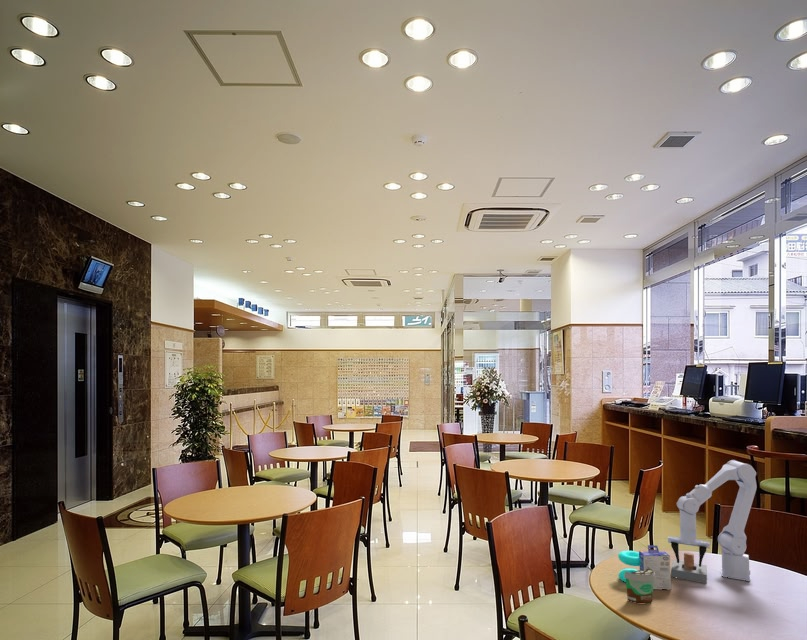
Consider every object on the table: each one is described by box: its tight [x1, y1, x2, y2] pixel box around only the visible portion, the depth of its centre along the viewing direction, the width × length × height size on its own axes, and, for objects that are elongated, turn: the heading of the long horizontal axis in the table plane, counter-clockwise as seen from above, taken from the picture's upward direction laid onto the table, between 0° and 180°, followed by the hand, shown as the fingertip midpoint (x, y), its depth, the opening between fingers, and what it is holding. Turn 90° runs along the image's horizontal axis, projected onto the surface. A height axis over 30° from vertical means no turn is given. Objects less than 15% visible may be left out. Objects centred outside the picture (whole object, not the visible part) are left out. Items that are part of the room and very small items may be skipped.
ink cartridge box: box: [638, 544, 672, 591], centre depth 209 cm, size 10×6×14 cm, turn 87°
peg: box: [683, 552, 695, 570], centre depth 222 cm, size 4×4×8 cm
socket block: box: [670, 559, 708, 584], centre depth 221 cm, size 12×12×3 cm
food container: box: [624, 567, 656, 604], centre depth 196 cm, size 12×6×10 cm, turn 117°
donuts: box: [617, 550, 641, 583], centre depth 215 cm, size 10×10×10 cm
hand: (689, 564), depth 222 cm, fingers open, 7 cm apart
